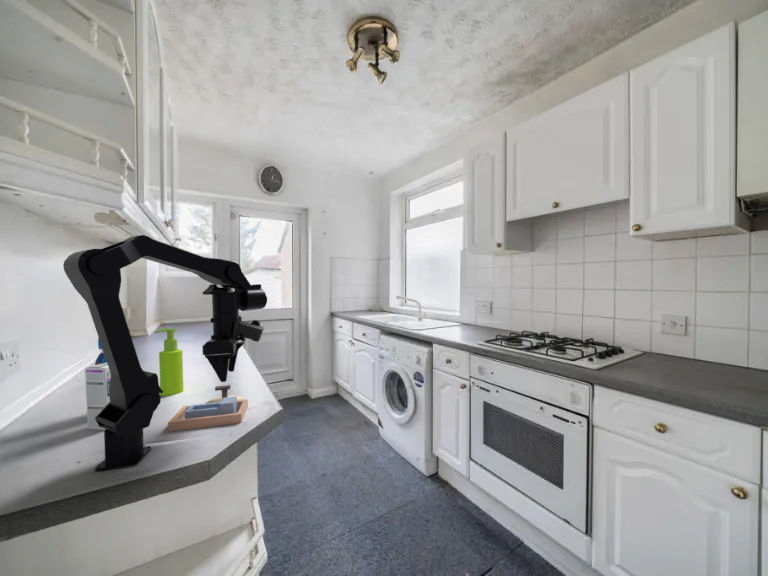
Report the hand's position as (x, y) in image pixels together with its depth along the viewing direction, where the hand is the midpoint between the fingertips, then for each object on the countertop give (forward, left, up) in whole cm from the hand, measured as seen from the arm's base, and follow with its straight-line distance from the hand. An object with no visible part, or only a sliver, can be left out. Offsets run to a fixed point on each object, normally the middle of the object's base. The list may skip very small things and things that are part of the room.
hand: (227, 376), depth 79 cm
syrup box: (+5, +27, -11) cm, 29 cm away
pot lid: (+11, +3, -10) cm, 15 cm away
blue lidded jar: (+15, +30, -11) cm, 35 cm away
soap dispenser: (+25, +21, -11) cm, 34 cm away
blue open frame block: (0, +4, -10) cm, 10 cm away
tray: (0, +4, -10) cm, 11 cm away
